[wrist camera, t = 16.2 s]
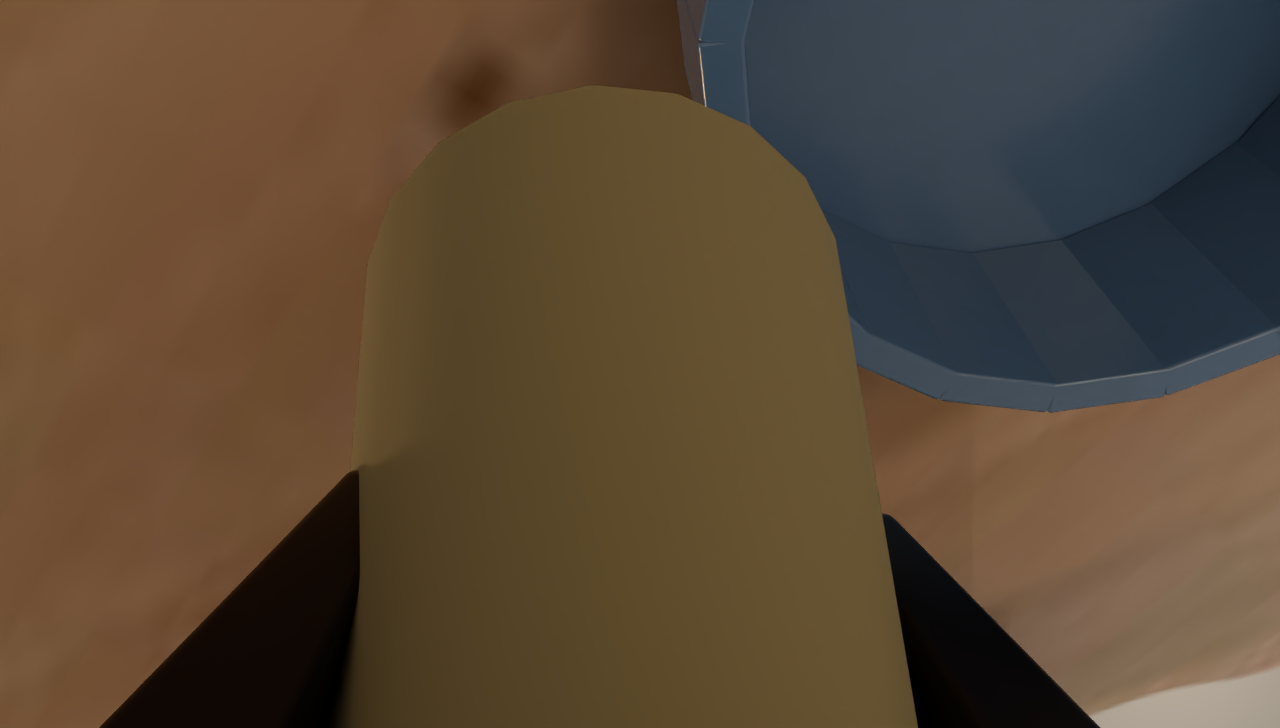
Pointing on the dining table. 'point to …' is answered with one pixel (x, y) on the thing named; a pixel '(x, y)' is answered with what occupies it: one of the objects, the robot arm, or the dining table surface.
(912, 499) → the dining table surface
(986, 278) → the basin
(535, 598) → the tan pawn
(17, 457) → the dining table surface
